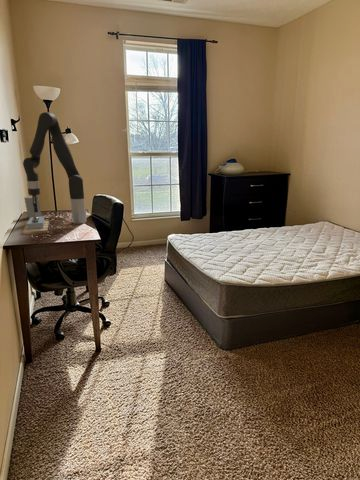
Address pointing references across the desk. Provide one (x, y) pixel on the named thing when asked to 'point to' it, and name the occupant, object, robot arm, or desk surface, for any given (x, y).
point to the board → (35, 231)
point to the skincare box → (30, 207)
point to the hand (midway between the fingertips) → (36, 212)
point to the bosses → (35, 219)
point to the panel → (36, 225)
